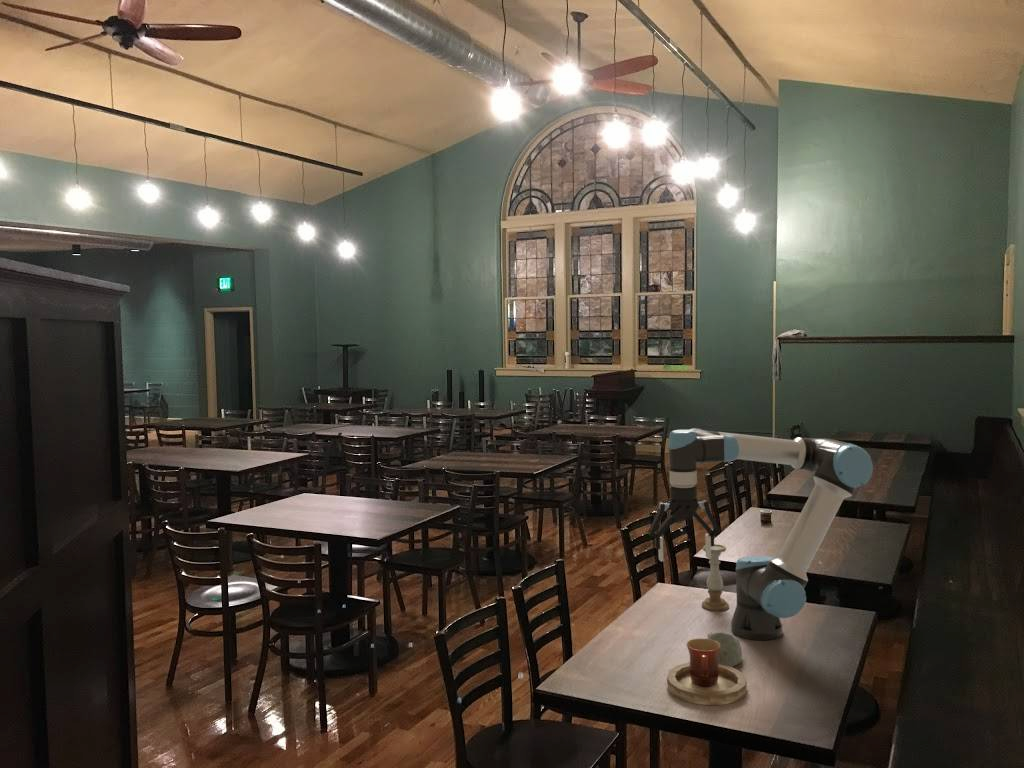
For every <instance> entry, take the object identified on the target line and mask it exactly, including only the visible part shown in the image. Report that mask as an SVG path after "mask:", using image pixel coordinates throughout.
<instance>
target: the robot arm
mask: <svg viewBox="0 0 1024 768" xmlns="http://www.w3.org/2000/svg"><path fill="white" fill-rule="evenodd" d="M667 448H668V461H669V484H670V486H669V502H668V503H665V502H662V501H660V502H659V503H658V509H657V511H656V514H655V516H654V518H653V520H652V522H651V524H650V527H649V529H648V531H647V534H648V535H649V536H650V537H653V538H654V547H655V549H656V550H658V553H657V554H658V560H659V561H660V562H664V538H663V536H662V535H663V534H664V533H665V532H666V531H667V530H668V528H669V527H670V526H671V525H672V524H673V522H674V521H675V520H676V519H680V520H681V519H691V518H692V517H693V518H694V519H695V520H696V522H698V523H699V524H700V525H701V527H702V528H703V529H704V530H705V531H706V532H707V533H705V535H704V536H705V538H704V539H705V545H706V552H705V557H706V558H707V559H708V560H710V559H711V546H714V544H715V536H716V534H720V533H721V532H722V531H721V530H722V529H720V526H719V525H718V523H717V520H716V519H715V517H714V515H713V514H712V511H711V509H710V504H709V503H710V502H709V501H707V500H705V499H702V501H698V486H697V484H698V479H697V477H698V473H697V471H698V470H697V469H698V468H697V465H698V464H706V463H709V464H710V463H727V462H734V461H735V460H743V461H752V462H753V461H754V462H760V463H769V464H770V463H771V464H779V465H780V464H781V465H789V466H791V467H792V468H793V469H794V470H802V471H806V472H809V473H810V472H811V473H813V477H812V478H813V481H814V487H813V488H812V491H811V492H810V493H809V494H810V495H809V496H808V499H807V501H806V502H805V503H804V506H803V508H802V510H801V512H800V513H799V516H798V518H797V519H796V522H795V524H794V526H793V527H792V528H791V530H790V531H791V532H790V534H789V535H788V537H787V539H786V541H785V543H784V545H783V547H782V549H780V552H779V554H778V556H777V557H776V558H775V557H772V556H767V555H750V556H749V555H748V556H742V557H739V558H738V559H737V560H736V562H735V563H736V564H735V566H736V567H735V579H736V580H735V583H736V585H735V586H736V607H735V610H734V611H733V615H732V619H731V622H730V623H731V624H730V625H731V626H730V627H731V628H730V629H731V632H732V634H734V635H735V636H738V637H740V638H743V639H747V640H753V641H769V640H770V641H771V640H775V639H778V638H780V637H782V635H783V632H784V631H783V624H782V623H783V622H782V621H781V619H789V618H791V617H795V616H796V615H797V614H799V613H800V612H801V611H802V610H803V609H804V607H805V605H806V602H807V595H806V591H805V587H806V585H807V584H808V582H809V579H808V576H807V571H808V569H809V567H810V565H811V563H812V561H813V560H814V558H815V555H816V554H817V552H818V550H819V548H820V547H821V544H822V542H823V540H824V538H825V536H826V534H827V532H828V531H829V528H830V526H831V525H832V522H833V520H834V518H835V516H836V514H837V513H838V511H839V509H840V507H841V505H842V503H843V502H844V499H847V498H850V497H852V496H853V495H854V492H855V491H856V489H857V488H859V487H861V486H864V485H866V484H867V483H868V482H869V480H870V479H871V478H872V475H873V470H874V469H873V468H874V465H873V462H872V458H871V455H870V454H869V453H868V451H867V450H866V449H864V448H862V447H861V446H858V445H856V444H854V443H851V442H845V441H841V440H837V439H832V438H824V437H823V438H813V437H795V438H793V439H787V438H786V439H785V438H778V437H769V436H760V435H759V436H758V435H749V434H742V433H741V434H740V433H732V432H722V431H713V430H705V429H704V430H703V429H702V428H694V427H693V428H689V429H675V430H671V431H670V432H669V436H668V447H667ZM699 507H700V509H702V510H703V512H704V513H705V515H706V517H707V519H708V521H709V523H710V525H711V527H712V528H711V527H710V526H709V525H708V523H706V522H705V521H704V520H703V518H701V516H700V515H699V514H698V513H697V512H696V511H698V509H699ZM668 509H669V510H670V512H669V513H668V515H667V516H666V518H665V519H664V521H663V522H662V523H661V521H662V519H663V516H664V514H665V512H666V511H668ZM660 523H661V525H660ZM659 525H660V526H659Z"/></svg>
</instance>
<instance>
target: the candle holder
mask: <svg viewBox="0 0 1024 768" xmlns="http://www.w3.org/2000/svg"><path fill="white" fill-rule="evenodd" d="M702 551H703V552H705V553H706V544H705V545H703V546H702ZM726 551H727V548H726V546H725V545H722V544H717V543H714V546H711V559H709V561H708V563H709V565H710V567H709V568H710V569H709V575H708V577H707V579H706V586H707V588H708V590H707V593H708V595H709V597H707V598H705V599H704V600H703V601H702V602H701V607H702V608H703V609H705V610H708V611H714V612H716V611H717V612H719V611H725V610H728V609H729V607H730V603H728V602H727V601H726V600H725V599H724V598H722V597H721V595H722V594H723V591H722V588H723V587H724V581H723V578H722V576H721V574H720V564H721V560H720V556H721V555H722V553H724V552H726Z"/></svg>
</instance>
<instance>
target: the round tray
mask: <svg viewBox="0 0 1024 768" xmlns="http://www.w3.org/2000/svg"><path fill="white" fill-rule="evenodd" d="M718 670H719V676H718V682H717V683H716V684H715V685H713V686H710V687H702V686H698V685H696V684H694V683H693V682H692V681H691V677H690V661H689V662H686V663H681V664H678V665H675V666H673V667H672V668H671V669H669V670H668V673H667V675H666V685H667V689H668V691H669V692H670V693H671V694H672V695H673V696H674V697H676V698H677V699H679V700H681V701H683V702H687V703H691V704H696V705H698V706H699V705H700V706H701V705H702V706H710V707H711V706H726V705H729V704H734V703H736V702H739V701H740V700H742V699H743V698H744V697H745V695H746V693H747V684H748V683H747V677H746V676H745V675H744V673H743V672H742V671H740V670H739V669H737V668H735V667H734V666H733V667H731V666H727V665H723V664H720V663H718Z"/></svg>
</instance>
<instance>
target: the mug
mask: <svg viewBox="0 0 1024 768" xmlns="http://www.w3.org/2000/svg"><path fill="white" fill-rule="evenodd" d="M686 648H687V650H688V653H689V662H690V677H691V681H692V682H693V683H694V684H696V685H698V686H702V687H710V686H713V685H715V684H716V683H717V682H718V676H719V670H718V655H719V651H720V648H721V645H720V643H719V642H717V641H715V640H712V639H707V638H702V637H701V638H700V637H698V638H693V639H689V640H688V641H687V642H686Z"/></svg>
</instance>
